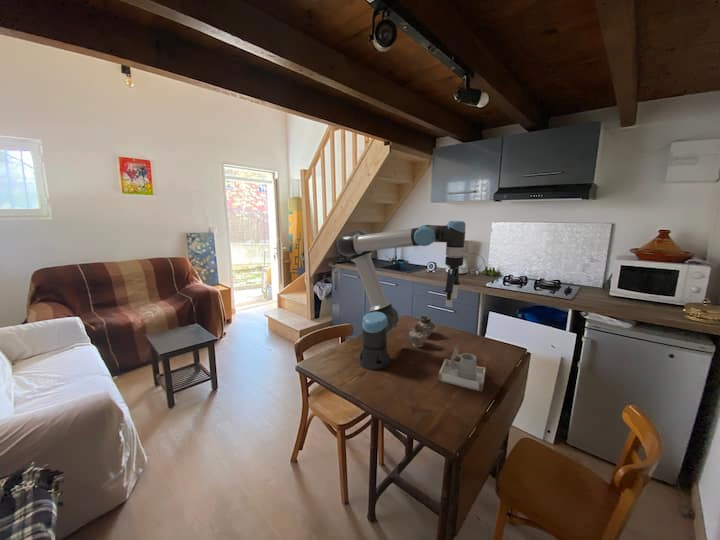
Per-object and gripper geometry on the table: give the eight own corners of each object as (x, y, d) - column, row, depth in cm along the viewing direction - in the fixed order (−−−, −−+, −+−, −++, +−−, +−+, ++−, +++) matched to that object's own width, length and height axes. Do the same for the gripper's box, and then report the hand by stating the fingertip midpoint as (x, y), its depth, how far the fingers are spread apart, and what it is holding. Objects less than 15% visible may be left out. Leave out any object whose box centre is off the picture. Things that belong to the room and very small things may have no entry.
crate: (438, 380, 126) (438, 372, 125) (444, 365, 138) (445, 358, 137) (482, 391, 118) (482, 383, 118) (484, 375, 130) (485, 367, 129)
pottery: (405, 346, 157) (406, 326, 155) (417, 329, 179) (418, 311, 177) (426, 351, 153) (427, 329, 150) (436, 333, 175) (437, 314, 172)
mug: (471, 385, 122) (474, 358, 119) (445, 374, 130) (447, 349, 127) (479, 377, 127) (481, 352, 125) (453, 367, 135) (455, 343, 133)
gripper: (458, 261, 117) (455, 311, 121) (467, 253, 139) (464, 296, 143) (439, 259, 120) (437, 309, 125) (450, 252, 142) (448, 294, 146)
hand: (451, 302), depth 134 cm, fingers open, 13 cm apart
